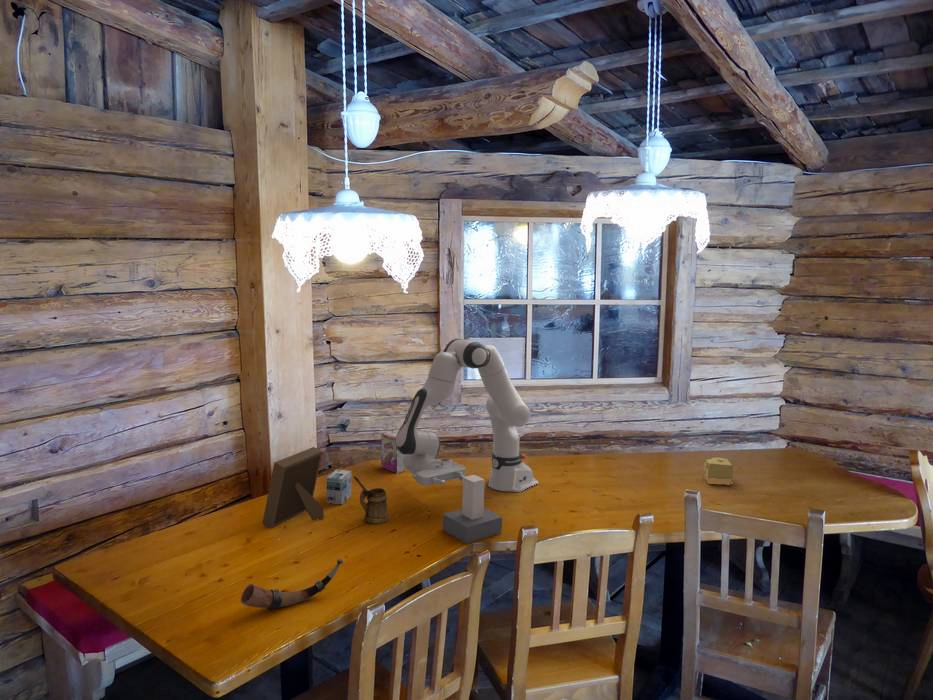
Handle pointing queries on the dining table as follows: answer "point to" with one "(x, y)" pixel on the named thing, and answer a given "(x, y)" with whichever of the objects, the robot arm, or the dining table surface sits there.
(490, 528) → the podium
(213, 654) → the dining table surface
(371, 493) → the wooden mug
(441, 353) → the robot arm
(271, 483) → the photo frame
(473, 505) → the carton
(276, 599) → the drinking horn
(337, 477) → the light bulb box
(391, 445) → the candy bar box
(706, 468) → the cheese
